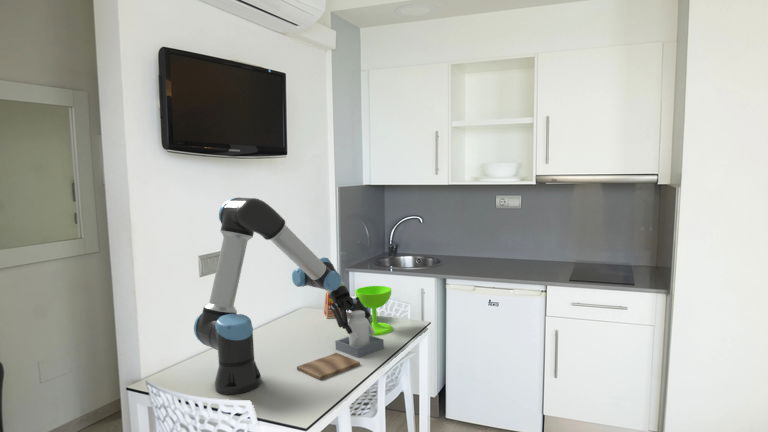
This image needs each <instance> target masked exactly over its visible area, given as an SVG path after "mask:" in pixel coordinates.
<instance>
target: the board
mask: <svg viewBox="0 0 768 432" xmlns="http://www.w3.org/2000/svg"><path fill="white" fill-rule="evenodd" d="M360 365H361V362H360V361H359V360H356V359H354V358H351V357H348V356H346V355H342V354H340V353H338V352H335V353H332V354H329V355H326V356H323V357H321V358H318V359H317V358H316V359H315V360H311V361H309V362H306V363H304V364H299V365H298V366H297V365H296V370H297V371H298V372H301V373H303V374H306V375H308V376H310V377H311V378H314V379H316V380H318V381H322V380H325V379H327V378H331V377H332V376H334V375H339V374H340V373H343V372H345V371H348V370H350V369H353V368H356V367H358V366H360Z"/></svg>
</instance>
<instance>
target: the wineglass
mask: <svg viewBox="0 0 768 432" xmlns="http://www.w3.org/2000/svg"><path fill="white" fill-rule="evenodd" d="M354 291H355V292H354V293H355V297H358V298H359V300H360V302H361V303H362V304H363V305H364V306H365V307H368V308H370V309H371V318H372V322H371V324H372V328H373V329H374V331H375V333H374V334H373V335H372V336H374V337H377V336H384V335H388V334H390V333H392V332H393V331H394V327H393V326H392V325H391V324H388V323H386V322H379V321H378V317H377V315H378V314H377V313H378V312H377V309H379V308H381V307H384V305H386V304H387V302H388V301H389V300H390V299H391V295H392V288H391V287H389V286H385V285H368V286H362V287H358V288H356V289H355V290H354ZM369 335H370V334H369Z"/></svg>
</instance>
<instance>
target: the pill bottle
mask: <svg viewBox="0 0 768 432" xmlns="http://www.w3.org/2000/svg"><path fill="white" fill-rule="evenodd" d="M348 320H349V321H348V325H349V324H351V325H352V327H353V329H354V330H355V332H356V334H357V335H358V337H359V338H358V339H357V340H356V341H355V342H354V340H353V339H352V337H351V335H350V334H348V337H349V344H350V345H351V346H354V347H357V348H358V347H361V346H364V345H367V344H369V322H368V319H367V318H365V312H364V311H362V310H357V311H353V312H352V311H351V318H350V319H348Z"/></svg>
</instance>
